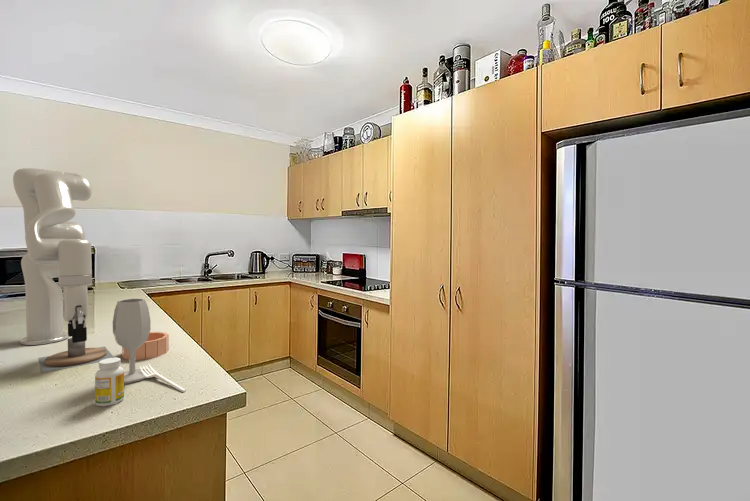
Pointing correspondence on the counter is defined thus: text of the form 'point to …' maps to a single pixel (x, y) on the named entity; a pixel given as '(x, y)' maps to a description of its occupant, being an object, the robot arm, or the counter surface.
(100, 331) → the counter surface
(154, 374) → the fork
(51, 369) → the mat
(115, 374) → the supplement bottle
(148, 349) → the bowl
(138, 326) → the wineglass
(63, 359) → the lid
